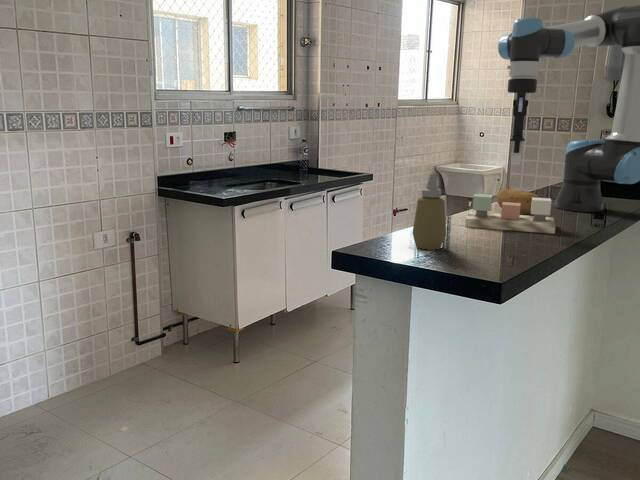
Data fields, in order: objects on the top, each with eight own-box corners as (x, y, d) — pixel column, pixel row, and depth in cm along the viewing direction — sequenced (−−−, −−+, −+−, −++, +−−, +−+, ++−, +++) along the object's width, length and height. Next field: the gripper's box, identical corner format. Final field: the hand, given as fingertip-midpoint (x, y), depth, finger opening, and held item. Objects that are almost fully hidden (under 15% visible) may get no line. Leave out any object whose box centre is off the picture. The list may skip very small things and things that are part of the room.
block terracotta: (518, 224, 175) (520, 203, 174) (518, 227, 171) (520, 205, 169) (500, 222, 177) (502, 201, 175) (500, 225, 172) (502, 204, 171)
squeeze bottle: (423, 253, 141) (427, 177, 137) (405, 245, 149) (408, 172, 144) (451, 250, 144) (456, 175, 140) (432, 242, 152) (437, 171, 148)
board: (552, 225, 176) (553, 217, 175) (554, 233, 165) (555, 225, 164) (468, 219, 183) (469, 211, 182) (465, 226, 172) (465, 218, 171)
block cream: (548, 219, 173) (550, 198, 171) (549, 223, 168) (551, 201, 167) (530, 218, 174) (532, 197, 173) (530, 221, 169) (532, 200, 168)
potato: (530, 220, 184) (533, 194, 182) (489, 213, 193) (491, 188, 191) (545, 216, 190) (547, 191, 188) (504, 210, 200) (506, 186, 198)
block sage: (490, 215, 177) (492, 194, 176) (489, 218, 173) (491, 197, 171) (473, 214, 179) (474, 193, 177) (471, 217, 174) (473, 196, 173)
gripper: (509, 78, 172) (502, 161, 177) (508, 77, 159) (500, 166, 165) (536, 78, 169) (529, 162, 175) (537, 77, 157) (529, 167, 163)
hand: (515, 164), depth 170 cm, fingers closed
